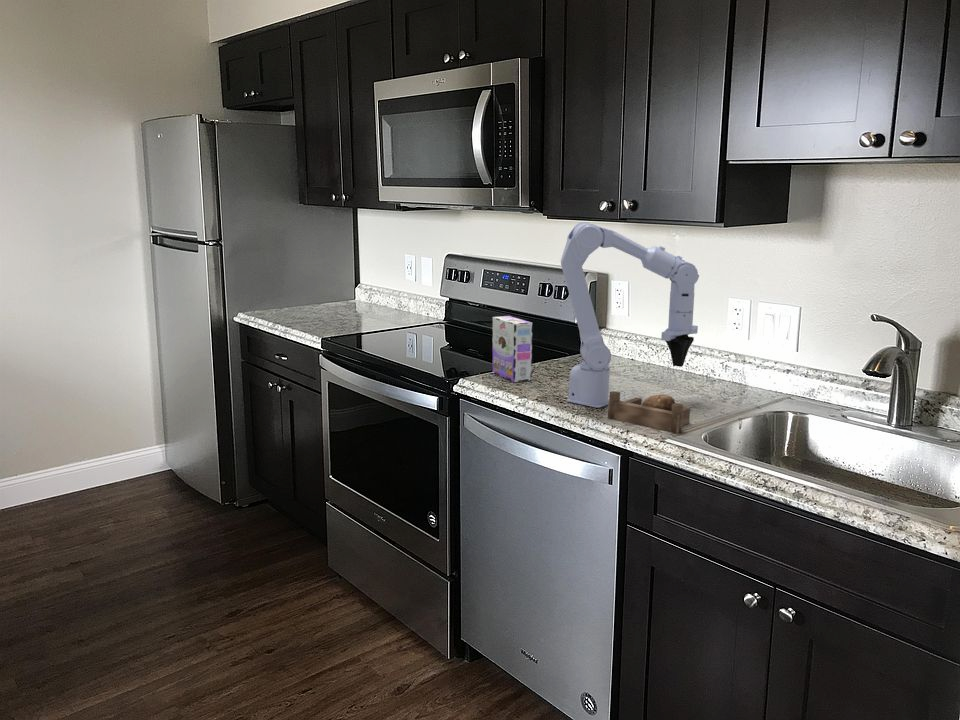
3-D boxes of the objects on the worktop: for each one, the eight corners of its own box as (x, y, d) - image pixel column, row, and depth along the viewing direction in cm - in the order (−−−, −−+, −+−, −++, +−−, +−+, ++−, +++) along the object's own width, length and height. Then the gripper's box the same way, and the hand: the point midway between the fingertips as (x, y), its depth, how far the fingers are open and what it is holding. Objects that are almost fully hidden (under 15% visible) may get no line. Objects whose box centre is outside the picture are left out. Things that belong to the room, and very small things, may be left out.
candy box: (532, 381, 229) (533, 321, 225) (513, 383, 226) (514, 323, 223) (509, 371, 241) (510, 314, 238) (491, 372, 238) (491, 316, 235)
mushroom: (673, 400, 197) (664, 382, 193) (685, 421, 190) (676, 403, 187) (642, 415, 198) (633, 397, 194) (653, 436, 191) (644, 418, 188)
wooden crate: (606, 417, 193) (607, 392, 192) (627, 409, 200) (628, 385, 199) (678, 433, 181) (679, 406, 180) (698, 424, 188) (699, 399, 187)
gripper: (681, 316, 194) (678, 373, 197) (710, 309, 205) (706, 363, 208) (654, 313, 199) (652, 368, 202) (684, 306, 209) (681, 359, 212)
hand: (678, 365), depth 205 cm, fingers closed
